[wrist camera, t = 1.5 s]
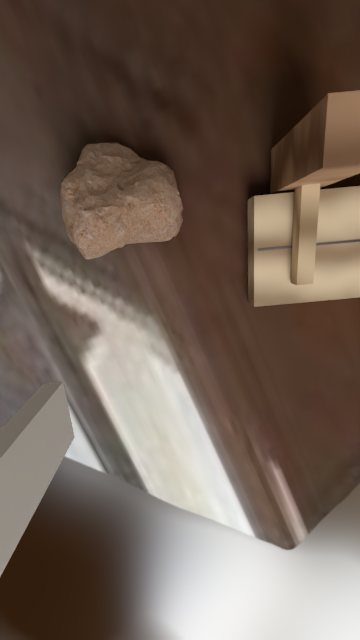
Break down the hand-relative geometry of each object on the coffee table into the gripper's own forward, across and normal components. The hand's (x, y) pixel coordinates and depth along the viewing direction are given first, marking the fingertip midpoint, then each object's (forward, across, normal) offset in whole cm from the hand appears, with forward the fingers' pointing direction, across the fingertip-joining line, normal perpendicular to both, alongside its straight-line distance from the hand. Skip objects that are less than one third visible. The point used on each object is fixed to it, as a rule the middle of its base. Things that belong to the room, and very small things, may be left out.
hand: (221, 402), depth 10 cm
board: (+22, +19, +5) cm, 30 cm away
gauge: (+22, +12, +9) cm, 26 cm away
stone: (+22, -7, +11) cm, 26 cm away
